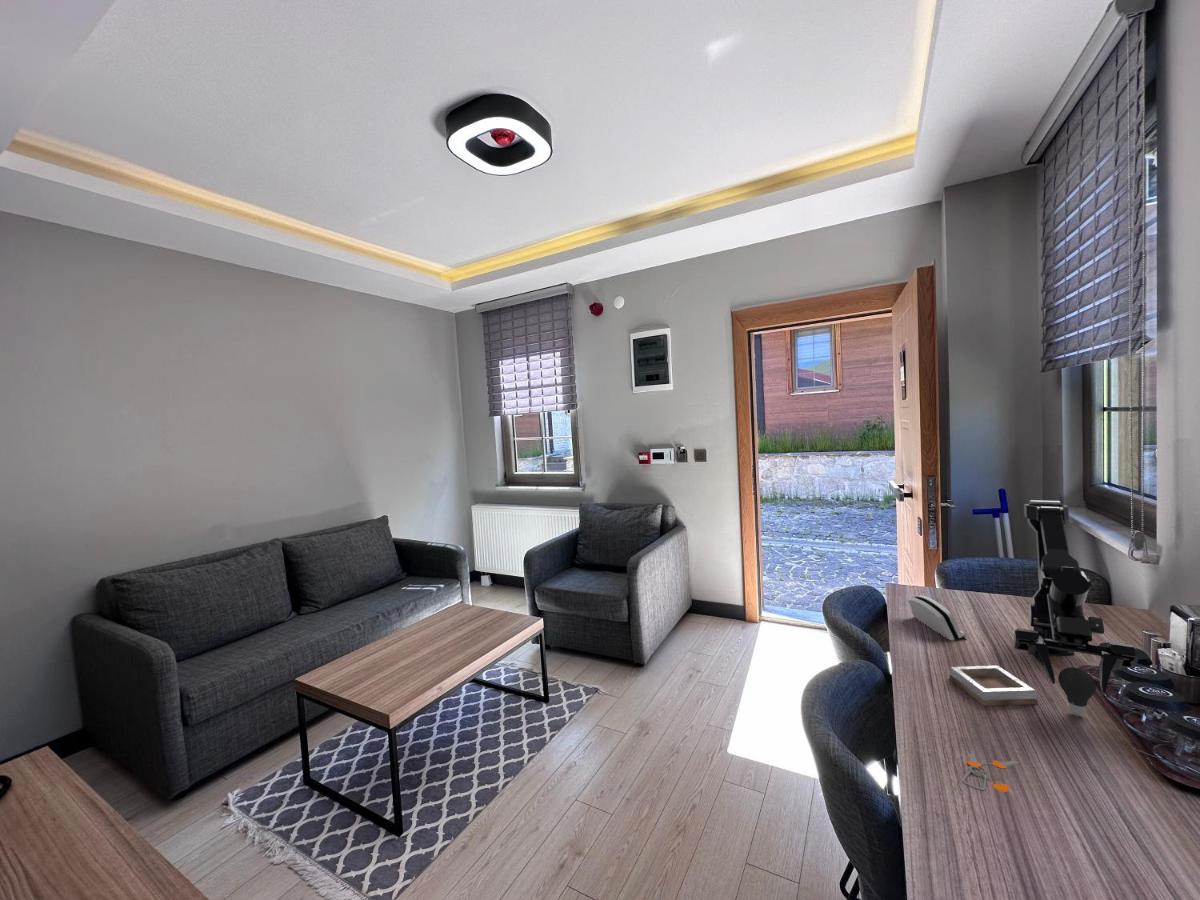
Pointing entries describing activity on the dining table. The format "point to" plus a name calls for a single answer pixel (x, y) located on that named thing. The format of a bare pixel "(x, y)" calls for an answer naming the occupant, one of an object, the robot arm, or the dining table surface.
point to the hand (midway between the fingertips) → (1078, 688)
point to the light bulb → (1077, 689)
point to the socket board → (992, 683)
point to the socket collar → (1014, 693)
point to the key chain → (977, 765)
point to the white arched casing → (935, 617)
